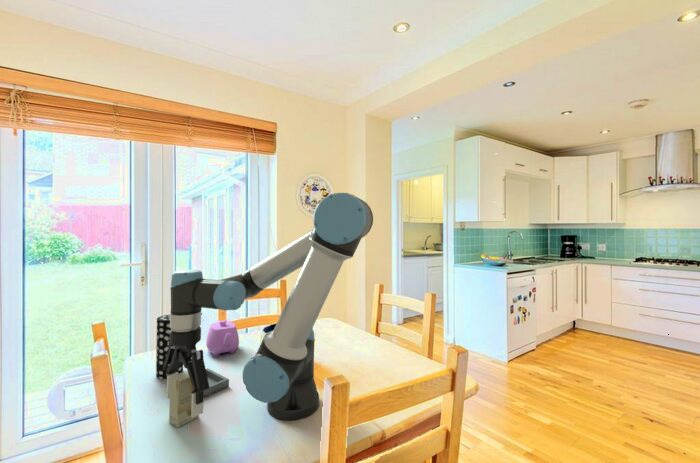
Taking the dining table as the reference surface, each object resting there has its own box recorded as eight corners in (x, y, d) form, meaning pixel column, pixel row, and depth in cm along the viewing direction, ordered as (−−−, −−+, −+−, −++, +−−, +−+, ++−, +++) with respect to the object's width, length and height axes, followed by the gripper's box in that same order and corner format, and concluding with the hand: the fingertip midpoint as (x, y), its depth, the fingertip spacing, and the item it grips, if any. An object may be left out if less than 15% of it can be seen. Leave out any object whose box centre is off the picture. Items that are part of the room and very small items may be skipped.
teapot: (202, 346, 139) (203, 317, 139) (232, 341, 146) (232, 313, 146) (211, 363, 122) (211, 330, 122) (244, 356, 129) (244, 325, 129)
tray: (228, 386, 105) (228, 379, 105) (189, 404, 94) (189, 395, 94) (207, 375, 113) (207, 368, 112) (168, 390, 102) (168, 382, 102)
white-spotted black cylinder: (171, 380, 108) (171, 321, 108) (150, 377, 110) (150, 319, 110) (188, 369, 117) (189, 315, 116) (168, 367, 118) (169, 313, 118)
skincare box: (177, 428, 83) (178, 381, 83) (168, 422, 85) (168, 377, 85) (200, 416, 88) (201, 372, 88) (191, 411, 91) (191, 368, 91)
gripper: (224, 334, 82) (222, 416, 82) (177, 315, 97) (176, 385, 97) (196, 342, 76) (194, 430, 76) (150, 321, 91) (149, 395, 91)
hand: (184, 405), depth 87 cm, fingers open, 13 cm apart
